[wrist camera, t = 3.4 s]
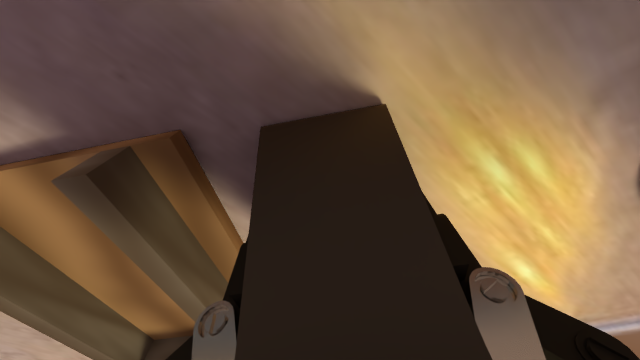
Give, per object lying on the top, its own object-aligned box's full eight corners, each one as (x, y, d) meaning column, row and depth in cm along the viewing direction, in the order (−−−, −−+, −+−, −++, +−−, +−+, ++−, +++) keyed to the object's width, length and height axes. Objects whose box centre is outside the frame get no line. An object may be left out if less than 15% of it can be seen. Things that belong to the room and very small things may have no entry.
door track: (180, 129, 11) (134, 165, 8) (287, 321, 22) (282, 365, 19) (-88, 182, 13) (-207, 228, 10) (137, 338, 24) (112, 382, 21)
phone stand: (262, 123, 11) (-130, 854, 1) (384, 101, 11) (1199, 977, 1) (301, 244, 16) (280, 590, 6) (386, 232, 16) (510, 587, 6)
